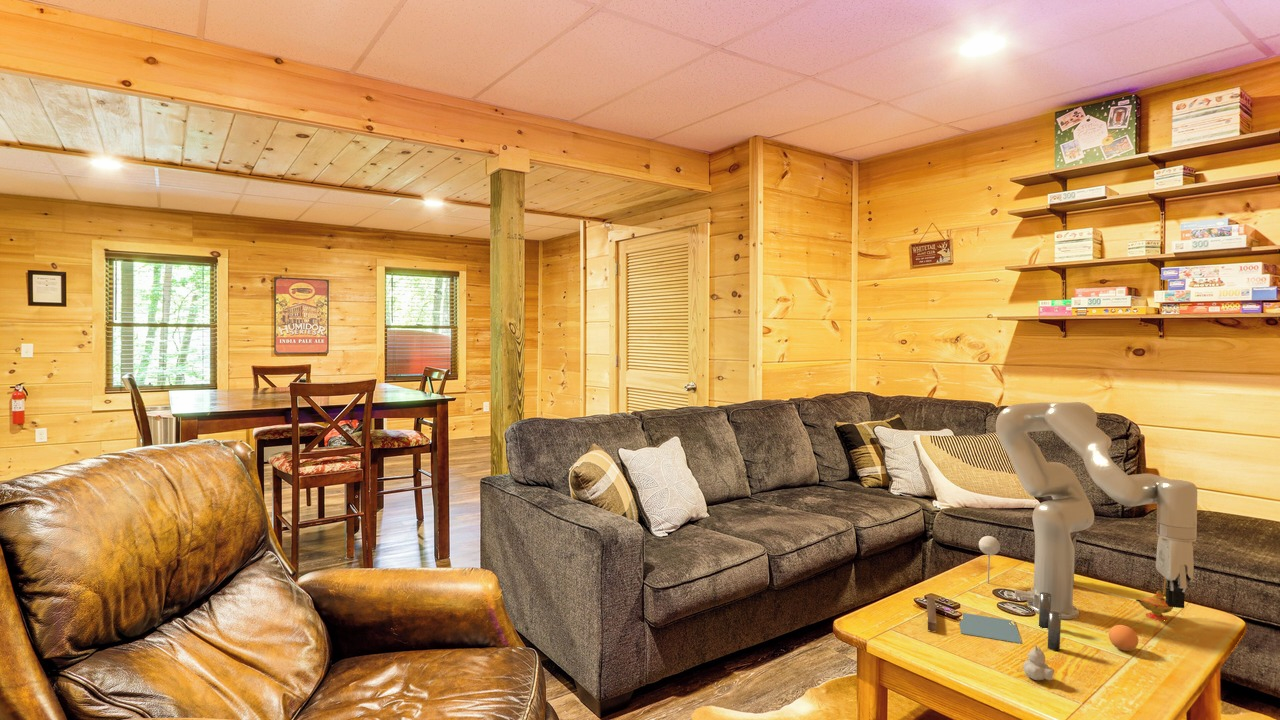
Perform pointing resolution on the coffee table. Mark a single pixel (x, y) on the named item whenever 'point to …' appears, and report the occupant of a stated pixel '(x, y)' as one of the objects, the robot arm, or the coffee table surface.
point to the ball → (1123, 637)
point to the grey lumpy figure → (1037, 666)
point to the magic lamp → (1156, 605)
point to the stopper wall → (931, 613)
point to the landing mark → (989, 628)
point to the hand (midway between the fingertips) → (1174, 606)
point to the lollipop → (989, 548)
